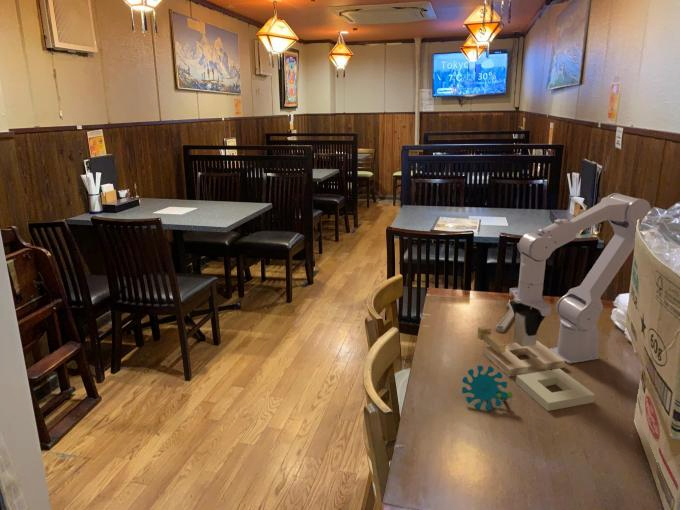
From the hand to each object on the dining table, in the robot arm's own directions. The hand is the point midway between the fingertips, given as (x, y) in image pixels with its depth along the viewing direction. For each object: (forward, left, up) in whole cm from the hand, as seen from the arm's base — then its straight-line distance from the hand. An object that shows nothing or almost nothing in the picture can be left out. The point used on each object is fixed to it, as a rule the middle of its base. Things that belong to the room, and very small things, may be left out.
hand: (526, 331), depth 129 cm
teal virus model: (+19, +14, -9) cm, 26 cm away
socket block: (0, 0, -9) cm, 9 cm away
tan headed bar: (+7, -5, -5) cm, 10 cm away
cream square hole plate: (+2, +15, -9) cm, 17 cm away
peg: (0, 0, -3) cm, 3 cm away
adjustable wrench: (-12, -26, -9) cm, 30 cm away
